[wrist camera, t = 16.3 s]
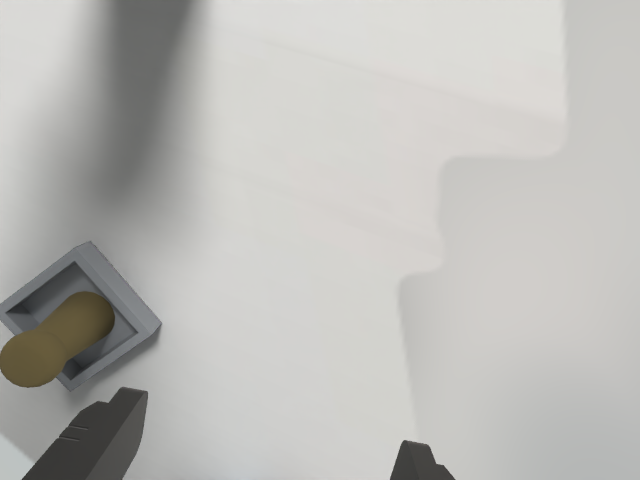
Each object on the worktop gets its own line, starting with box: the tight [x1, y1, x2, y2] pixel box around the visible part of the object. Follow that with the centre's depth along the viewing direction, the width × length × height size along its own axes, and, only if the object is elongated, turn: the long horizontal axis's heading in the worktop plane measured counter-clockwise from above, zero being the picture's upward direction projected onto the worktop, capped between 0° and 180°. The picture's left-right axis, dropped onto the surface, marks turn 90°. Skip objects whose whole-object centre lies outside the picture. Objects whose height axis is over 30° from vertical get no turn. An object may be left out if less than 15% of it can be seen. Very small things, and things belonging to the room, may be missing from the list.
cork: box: [0, 291, 115, 388], centre depth 41 cm, size 6×6×11 cm
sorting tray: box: [0, 241, 162, 391], centre depth 45 cm, size 12×12×3 cm
